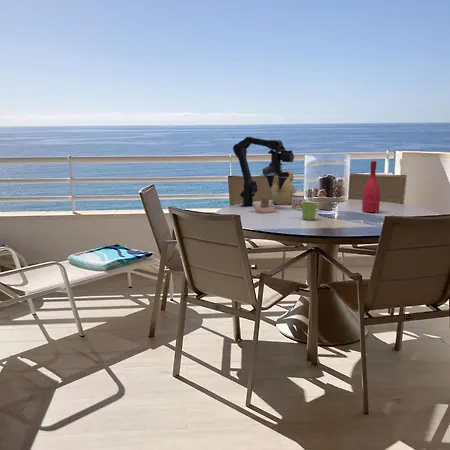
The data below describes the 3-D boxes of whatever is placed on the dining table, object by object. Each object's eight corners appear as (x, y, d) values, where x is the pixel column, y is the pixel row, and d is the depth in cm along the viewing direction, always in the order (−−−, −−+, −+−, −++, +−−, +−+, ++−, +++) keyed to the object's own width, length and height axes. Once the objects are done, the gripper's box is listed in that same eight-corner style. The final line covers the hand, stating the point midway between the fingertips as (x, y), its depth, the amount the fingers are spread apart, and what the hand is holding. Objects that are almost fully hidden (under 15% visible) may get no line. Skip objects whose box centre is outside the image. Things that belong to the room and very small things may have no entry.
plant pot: (299, 217, 277) (299, 201, 275) (316, 217, 277) (317, 202, 275) (300, 220, 268) (301, 204, 266) (318, 220, 268) (319, 204, 266)
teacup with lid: (289, 210, 302) (290, 190, 300) (292, 207, 310) (293, 188, 308) (309, 211, 298) (310, 191, 296) (312, 209, 306) (313, 189, 304)
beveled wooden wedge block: (260, 210, 288) (261, 196, 286) (266, 210, 290) (266, 196, 289) (262, 211, 286) (263, 197, 285) (268, 210, 288) (268, 196, 287)
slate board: (247, 212, 291) (247, 211, 291) (267, 210, 298) (267, 209, 298) (260, 215, 281) (260, 214, 281) (280, 213, 288) (280, 212, 288)
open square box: (255, 211, 290) (255, 206, 289) (266, 210, 294) (266, 205, 293) (263, 213, 283) (263, 208, 282) (274, 212, 287) (275, 207, 287)
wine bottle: (360, 212, 295) (363, 161, 289) (362, 210, 304) (366, 160, 298) (378, 213, 291) (381, 161, 286) (379, 211, 300) (383, 160, 295)
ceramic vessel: (300, 203, 331) (302, 164, 326) (288, 206, 314) (289, 166, 309) (277, 200, 339) (278, 163, 335) (264, 204, 323) (265, 165, 318)
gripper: (255, 161, 301) (255, 187, 304) (274, 163, 286) (274, 190, 289) (270, 160, 307) (269, 186, 310) (290, 162, 292) (289, 189, 295)
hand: (275, 187), depth 301 cm, fingers open, 9 cm apart
